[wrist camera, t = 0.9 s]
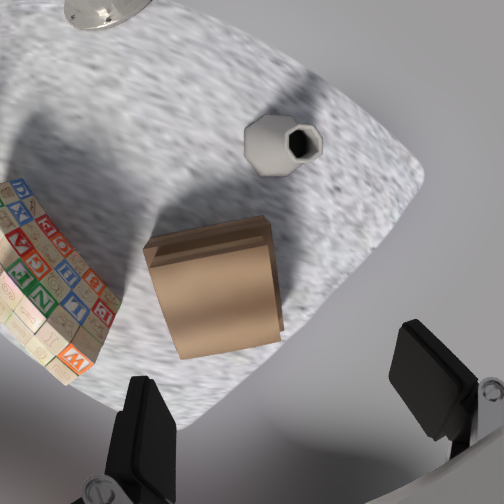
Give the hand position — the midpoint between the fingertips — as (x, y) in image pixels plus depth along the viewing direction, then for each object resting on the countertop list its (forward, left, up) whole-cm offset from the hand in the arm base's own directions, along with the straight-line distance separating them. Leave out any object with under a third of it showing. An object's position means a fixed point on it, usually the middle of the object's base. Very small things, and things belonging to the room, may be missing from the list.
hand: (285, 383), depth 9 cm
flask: (-8, +6, -24) cm, 26 cm away
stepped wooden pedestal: (+6, -3, -24) cm, 25 cm away
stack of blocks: (-1, -23, -24) cm, 33 cm away
